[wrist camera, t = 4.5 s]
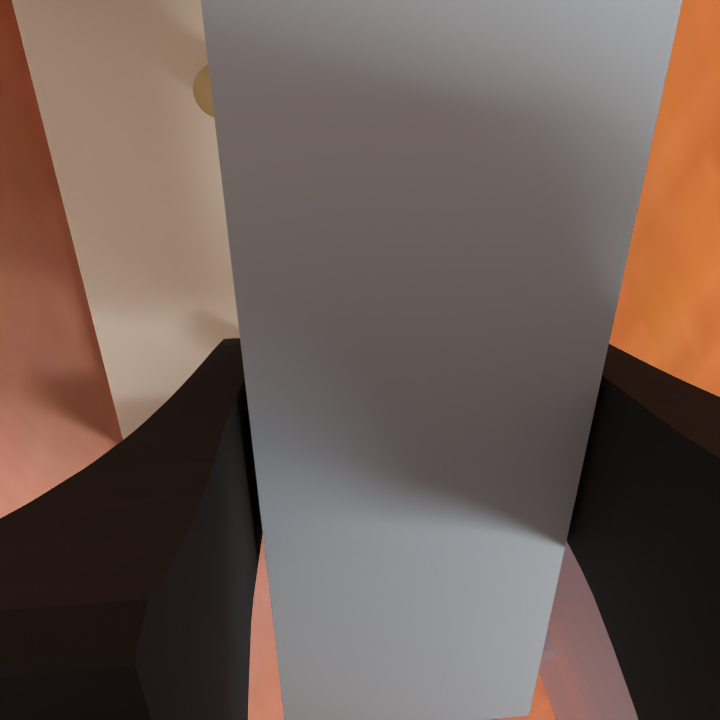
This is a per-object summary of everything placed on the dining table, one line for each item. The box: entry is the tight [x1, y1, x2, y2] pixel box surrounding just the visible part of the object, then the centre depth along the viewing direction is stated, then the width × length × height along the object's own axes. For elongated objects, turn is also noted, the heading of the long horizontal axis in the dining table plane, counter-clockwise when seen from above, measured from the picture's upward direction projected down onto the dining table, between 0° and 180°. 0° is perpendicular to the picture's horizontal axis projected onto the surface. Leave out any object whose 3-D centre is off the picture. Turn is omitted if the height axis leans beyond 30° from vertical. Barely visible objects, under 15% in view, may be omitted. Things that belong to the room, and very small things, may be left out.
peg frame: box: [12, 0, 240, 440], centre depth 18 cm, size 18×12×4 cm, turn 1°
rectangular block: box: [201, 0, 682, 720], centre depth 11 cm, size 12×4×6 cm, turn 0°
